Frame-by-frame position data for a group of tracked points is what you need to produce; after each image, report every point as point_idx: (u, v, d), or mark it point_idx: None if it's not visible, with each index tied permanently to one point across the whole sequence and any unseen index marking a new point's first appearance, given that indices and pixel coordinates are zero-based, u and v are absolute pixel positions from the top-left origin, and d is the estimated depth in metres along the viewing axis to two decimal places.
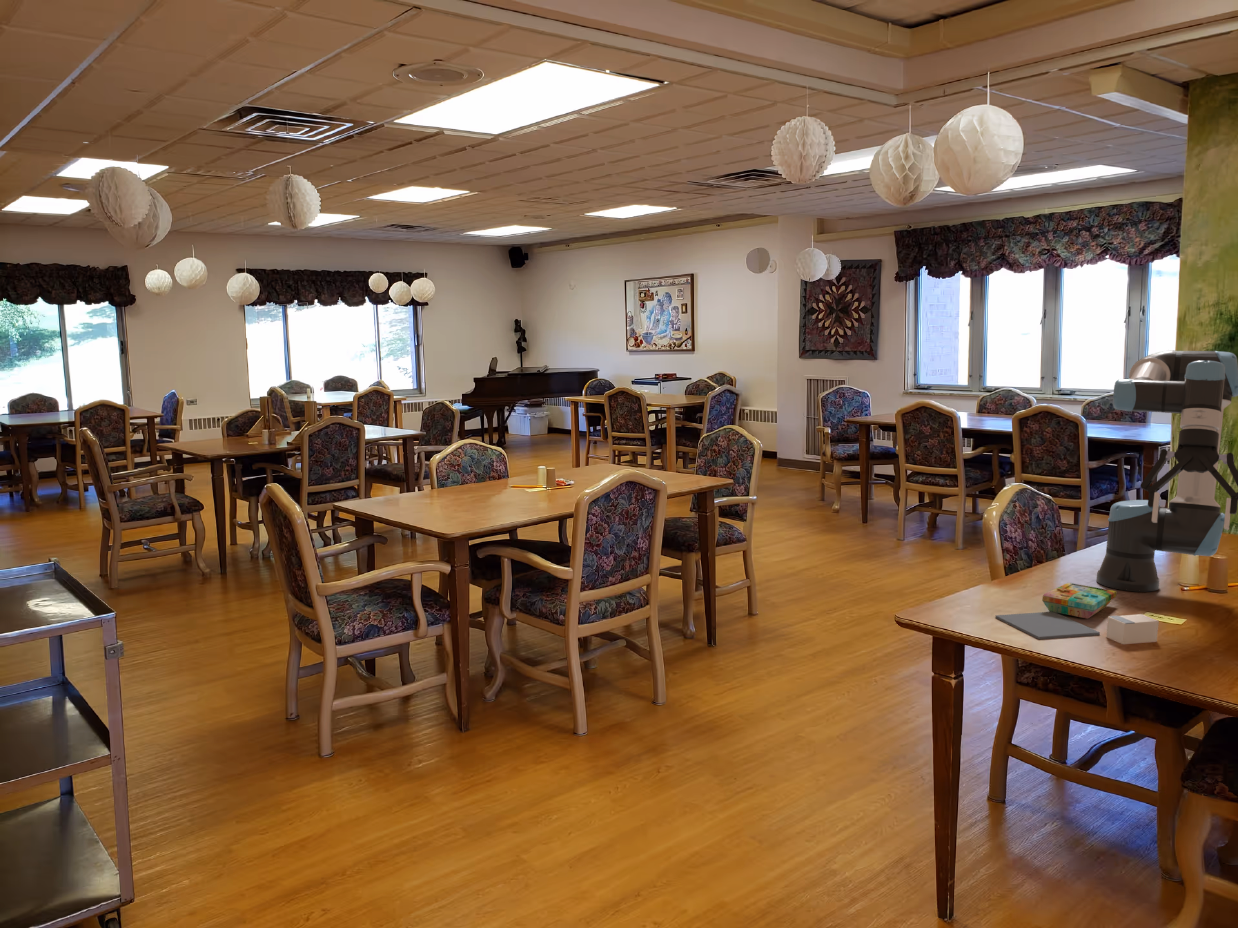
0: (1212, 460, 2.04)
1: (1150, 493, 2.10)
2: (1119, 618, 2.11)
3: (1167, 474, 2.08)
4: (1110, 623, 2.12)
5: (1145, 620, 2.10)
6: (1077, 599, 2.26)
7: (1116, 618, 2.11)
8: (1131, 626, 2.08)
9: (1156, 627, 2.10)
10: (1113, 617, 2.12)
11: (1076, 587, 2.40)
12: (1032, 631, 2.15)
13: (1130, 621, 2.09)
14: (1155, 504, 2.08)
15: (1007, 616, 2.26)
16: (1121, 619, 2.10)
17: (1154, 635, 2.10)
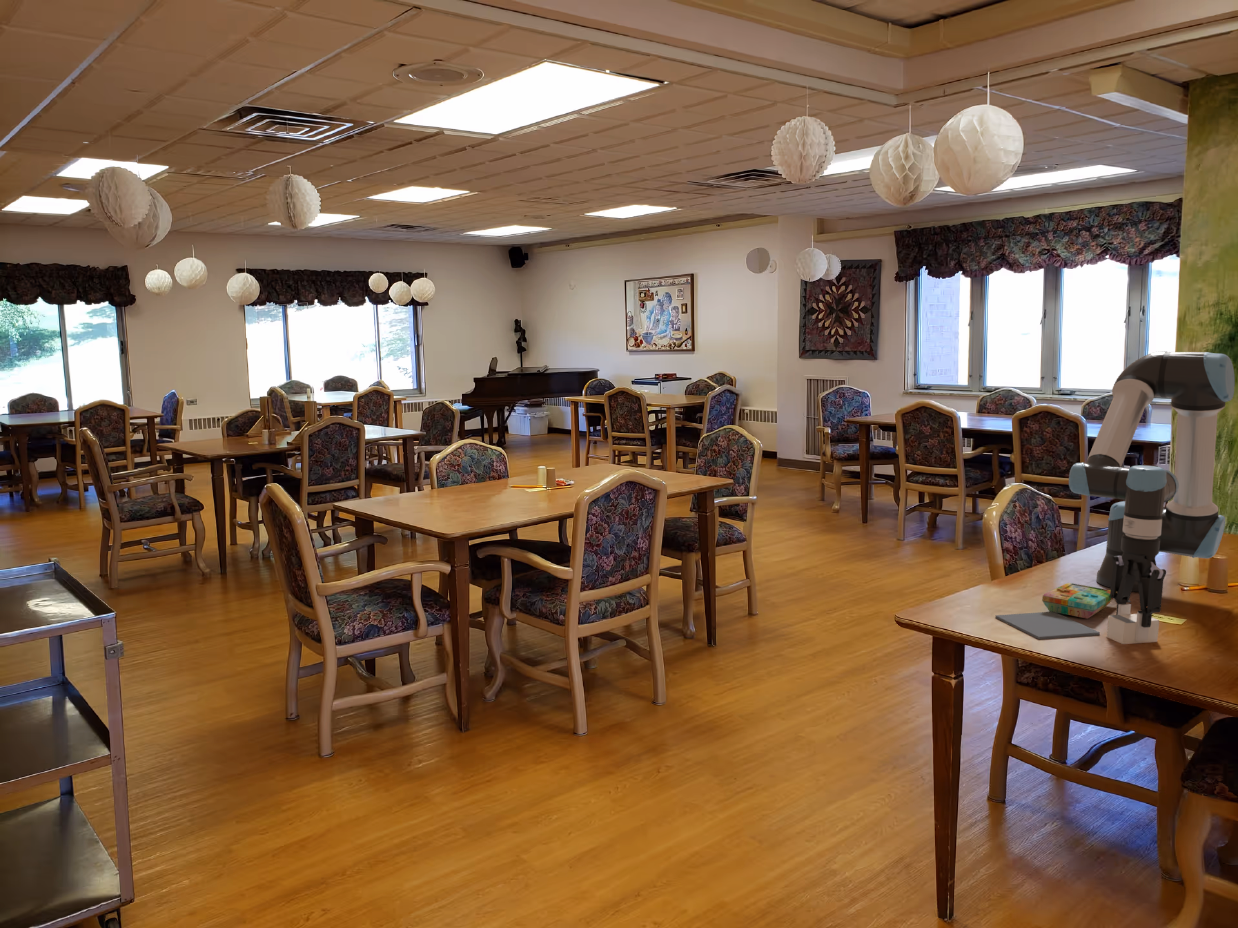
0: (1143, 567, 2.07)
1: (1118, 604, 2.15)
2: (1119, 617, 2.11)
3: (1122, 583, 2.13)
4: (1110, 622, 2.12)
5: None
6: (1077, 599, 2.26)
7: (1116, 617, 2.11)
8: (1131, 625, 2.08)
9: (1156, 627, 2.10)
10: (1113, 616, 2.12)
11: (1076, 587, 2.40)
12: (1032, 631, 2.15)
13: (1130, 620, 2.09)
14: None
15: (1007, 616, 2.26)
16: (1121, 618, 2.11)
17: (1155, 634, 2.10)
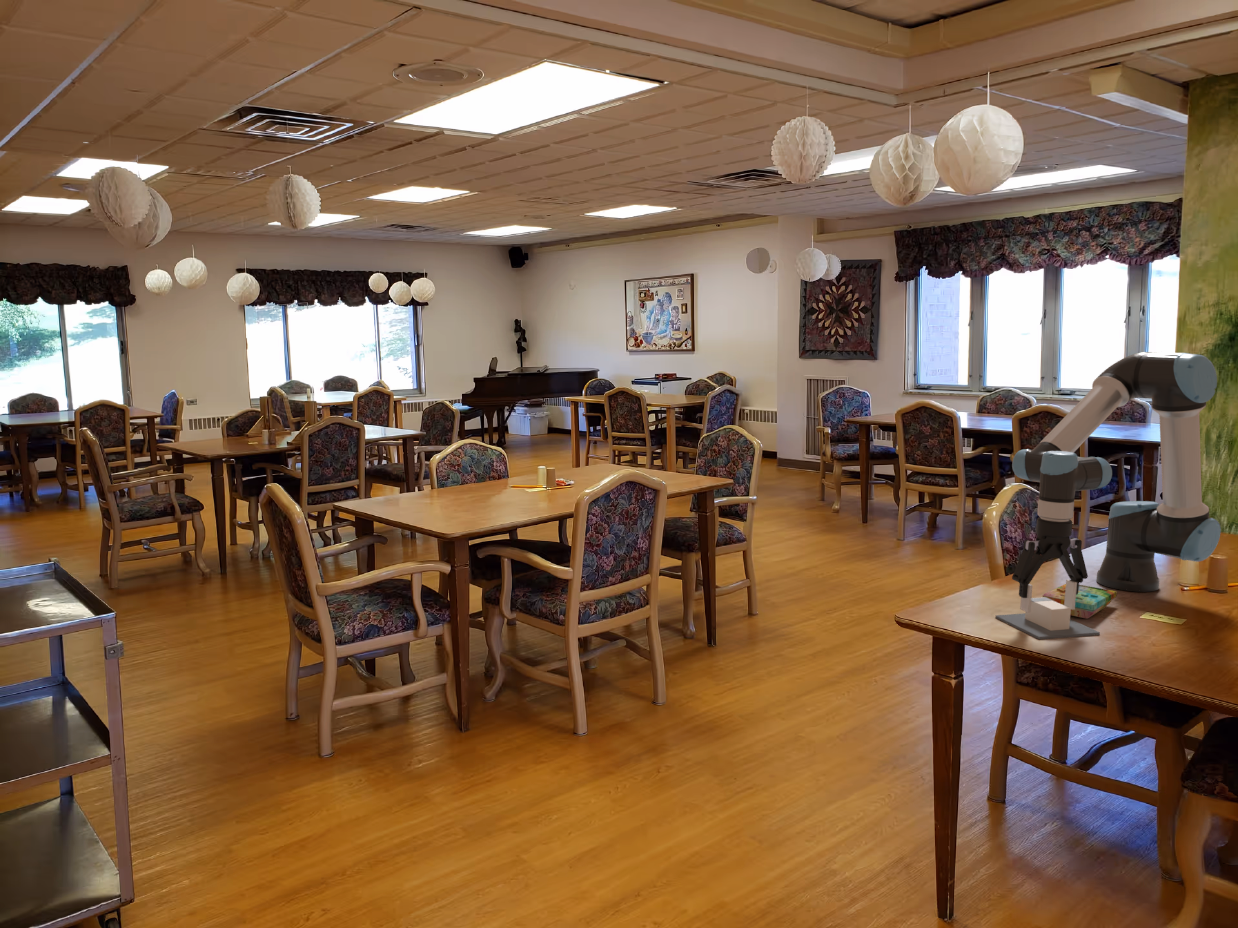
0: None
1: None
2: (1042, 599, 2.23)
3: None
4: None
5: (1047, 605, 2.18)
6: (1077, 599, 2.26)
7: (1040, 598, 2.23)
8: (1031, 604, 2.22)
9: (1050, 615, 2.16)
10: (1043, 598, 2.24)
11: None
12: (1032, 631, 2.15)
13: (1036, 600, 2.21)
14: None
15: (1007, 616, 2.26)
16: (1038, 599, 2.23)
17: (1048, 622, 2.16)
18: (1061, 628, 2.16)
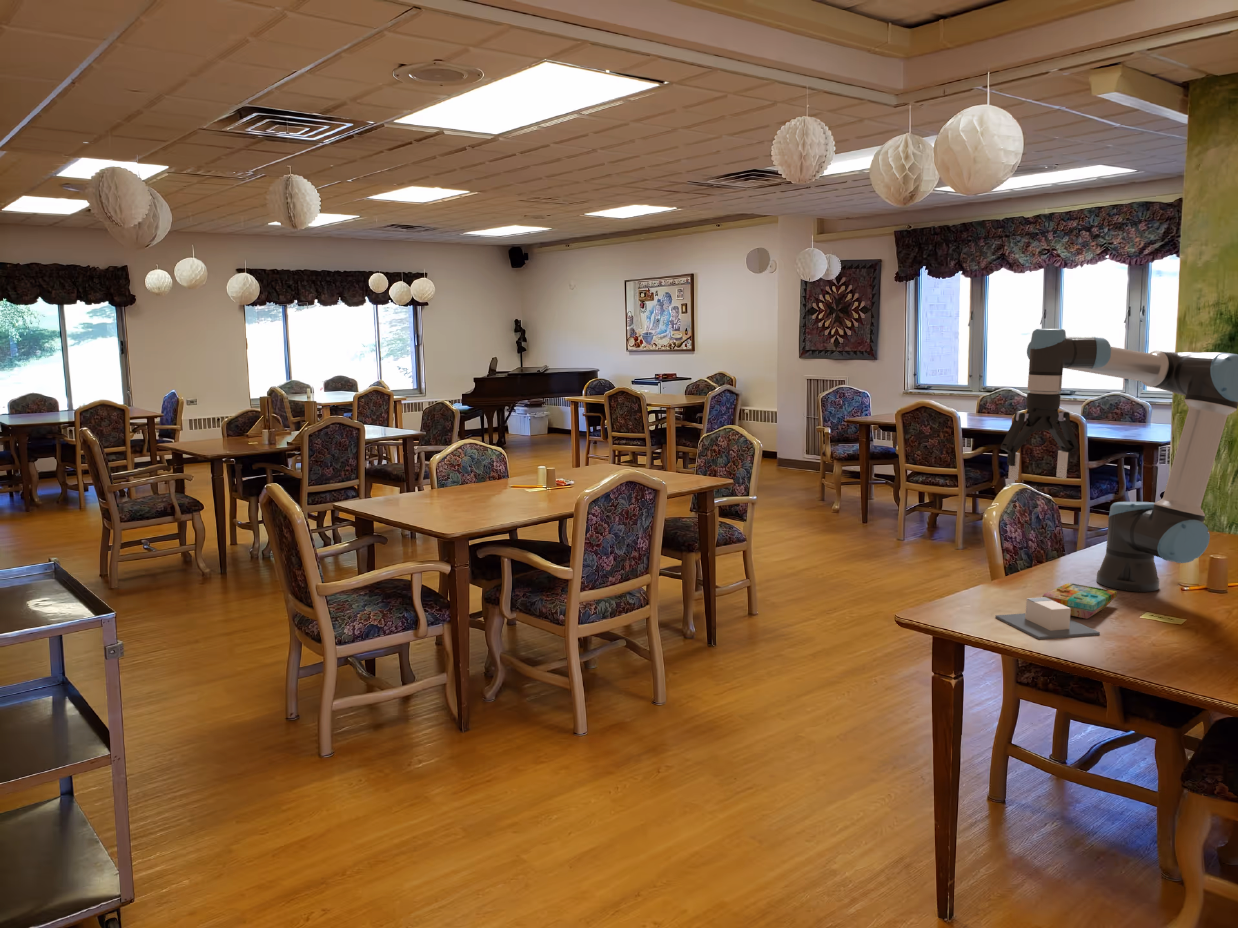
0: None
1: None
2: (1042, 599, 2.23)
3: None
4: None
5: (1047, 605, 2.18)
6: (1077, 599, 2.26)
7: (1040, 598, 2.23)
8: (1031, 604, 2.22)
9: (1050, 615, 2.16)
10: (1043, 598, 2.24)
11: (1076, 587, 2.40)
12: (1032, 631, 2.15)
13: (1036, 600, 2.21)
14: None
15: (1007, 616, 2.26)
16: (1038, 599, 2.23)
17: (1048, 622, 2.16)
18: (1061, 628, 2.16)
